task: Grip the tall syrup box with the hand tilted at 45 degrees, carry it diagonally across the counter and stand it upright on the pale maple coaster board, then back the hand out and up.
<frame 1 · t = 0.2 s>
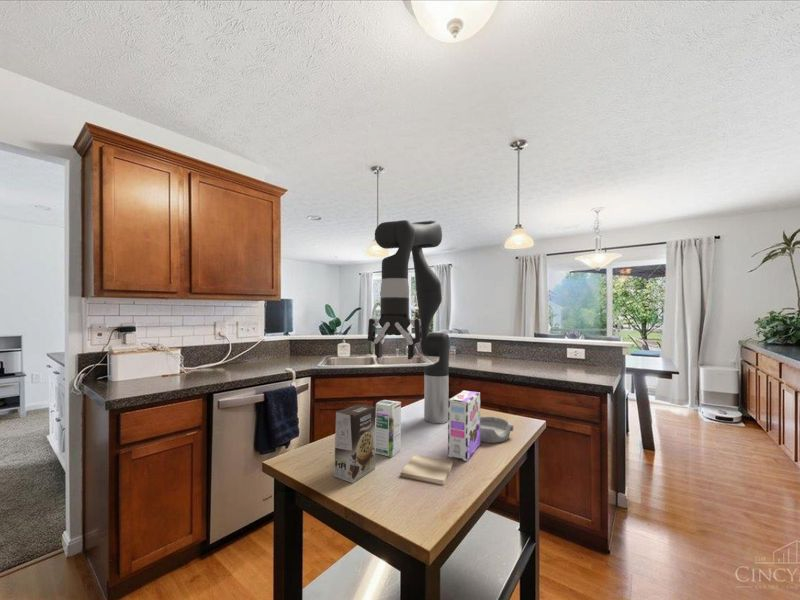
hand: (394, 358, 87), 29 cm above the table, tool pointing down, fingers open, 8 cm apart
grey cardboard box: (355, 473, 85), on the table
syrup box: (388, 452, 98), on the table
candy box: (465, 451, 99), on the table
maple board: (427, 470, 86), on the table
dish: (487, 437, 111), on the table
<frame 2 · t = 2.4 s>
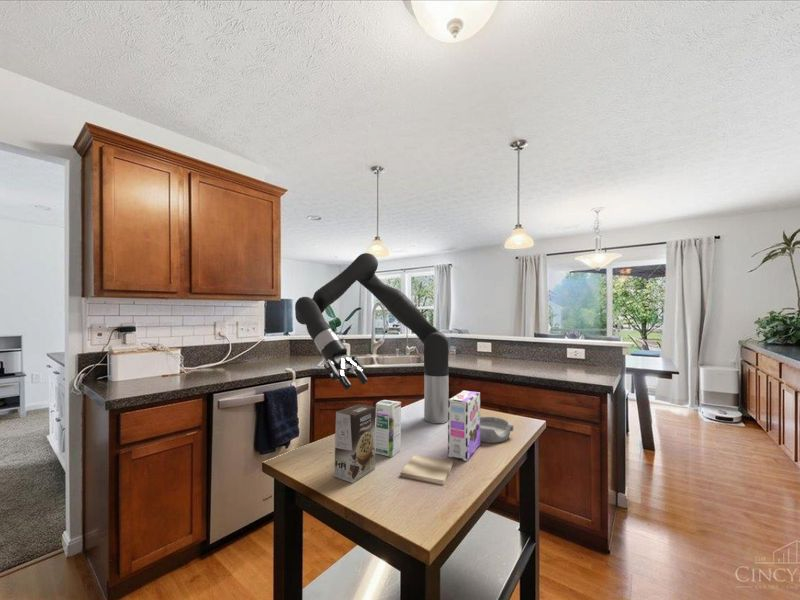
hand: (357, 385, 104), 18 cm above the table, tool tilted 45°, fingers open, 8 cm apart
nothing on the table moved.
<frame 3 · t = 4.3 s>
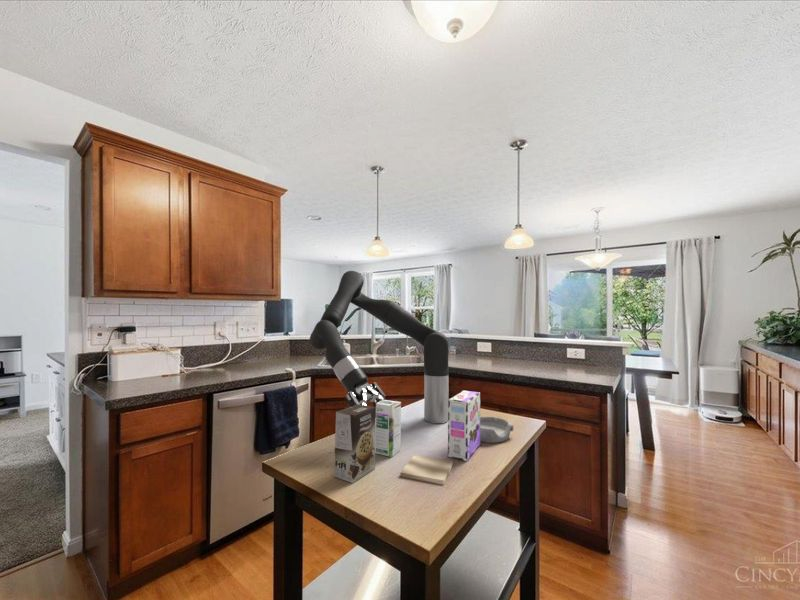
hand: (380, 416, 100), 9 cm above the table, tool tilted 45°, fingers open, 8 cm apart
nothing on the table moved.
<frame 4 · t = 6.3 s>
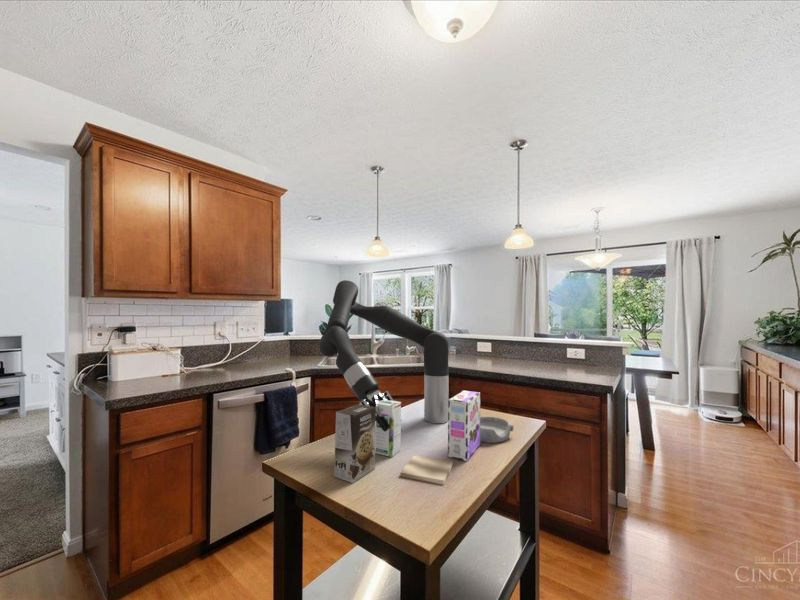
hand: (393, 426, 97), 8 cm above the table, tool tilted 45°, fingers closed on syrup box, 6 cm apart
syrup box: (388, 452, 98), on the table, touching gripper
everything else where it was.
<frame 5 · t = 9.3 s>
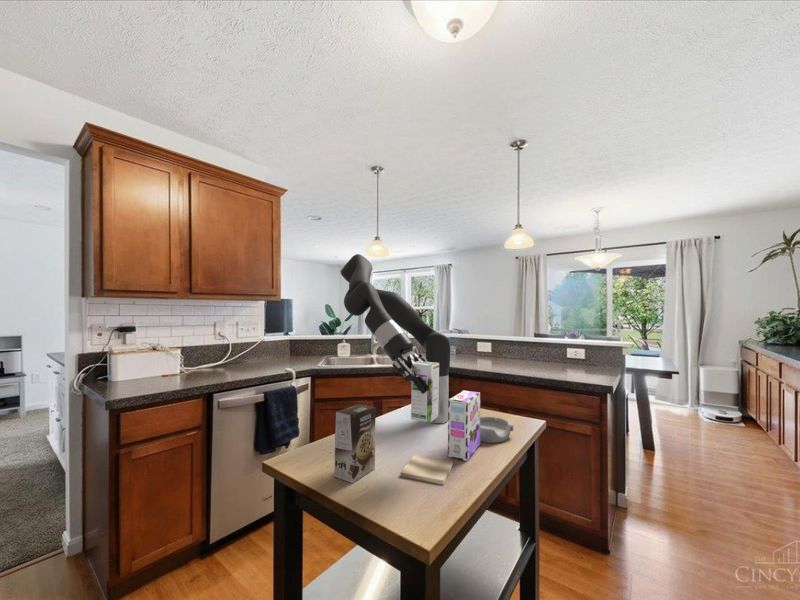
hand: (431, 388, 87), 21 cm above the table, tool tilted 45°, fingers closed on syrup box, 6 cm apart
syrup box: (424, 418, 87), point 13 cm above the table, touching gripper
everything else where it was.
when the fingers open (10 cm above the table, at t = 12.4 s): syrup box drops 1 cm, resting on maple board.
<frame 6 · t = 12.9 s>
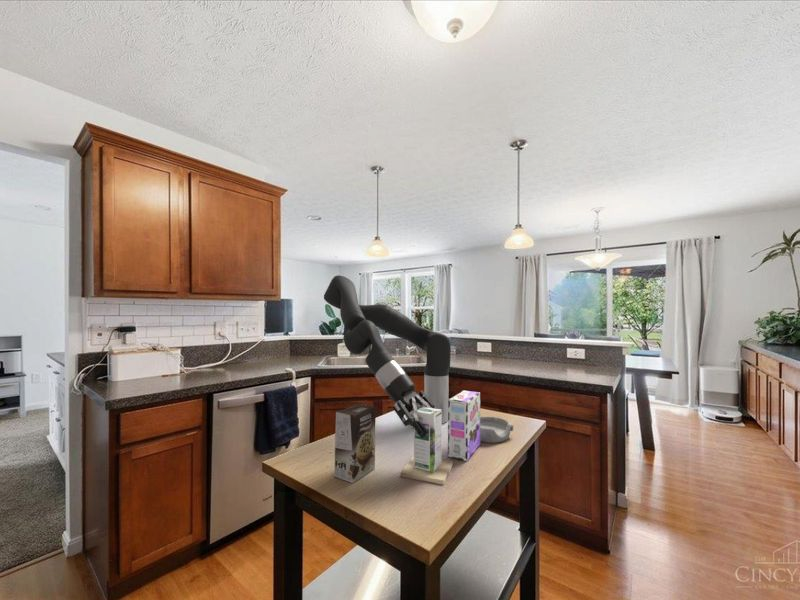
hand: (432, 430, 86), 10 cm above the table, tool tilted 45°, fingers open, 8 cm apart
syrup box: (427, 466, 87), point 1 cm above the table, touching maple board
everything else where it was.
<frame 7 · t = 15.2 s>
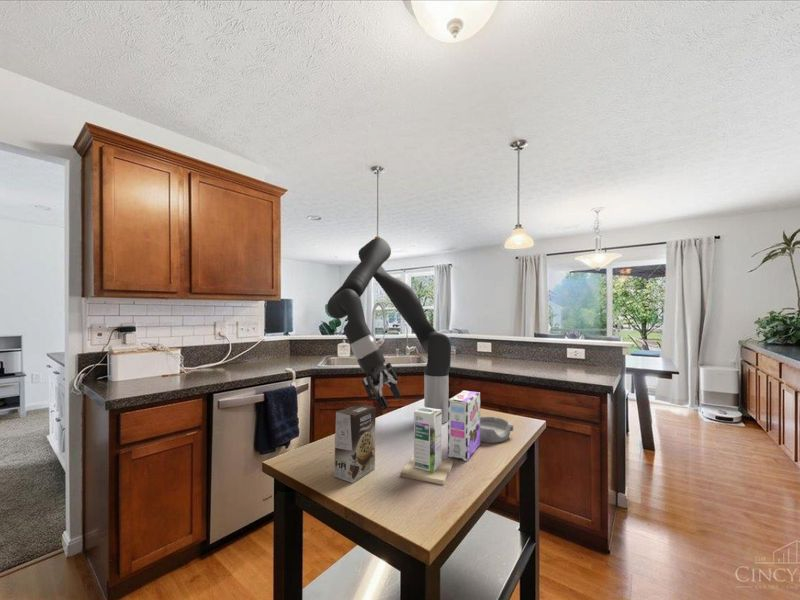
hand: (392, 402, 98), 14 cm above the table, tool tilted 25°, fingers open, 8 cm apart
nothing on the table moved.
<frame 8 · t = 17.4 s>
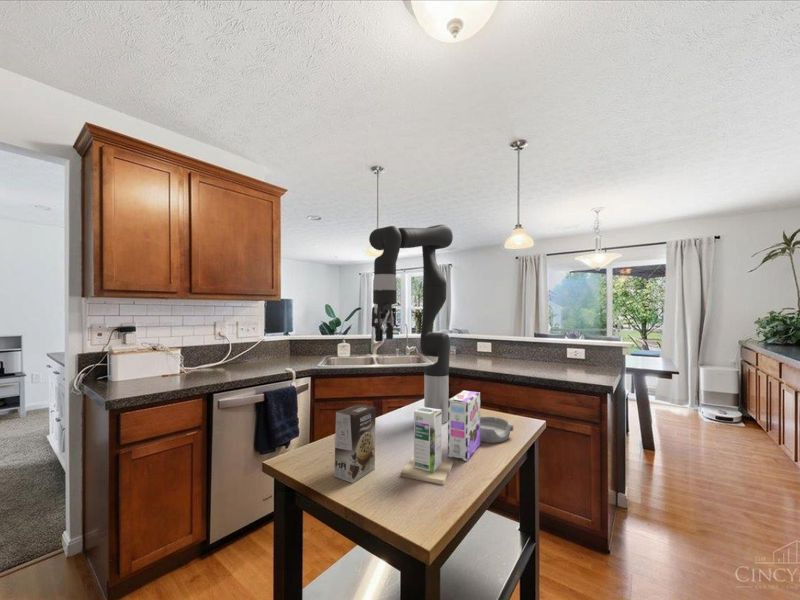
hand: (384, 340, 106), 32 cm above the table, tool pointing down, fingers open, 8 cm apart
nothing on the table moved.
at the end: syrup box inside the target area on the maple board (0.3 cm from its centre), point 0.8 cm above the maple board's base; syrup box tilted 0°; the gripper is holding nothing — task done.
